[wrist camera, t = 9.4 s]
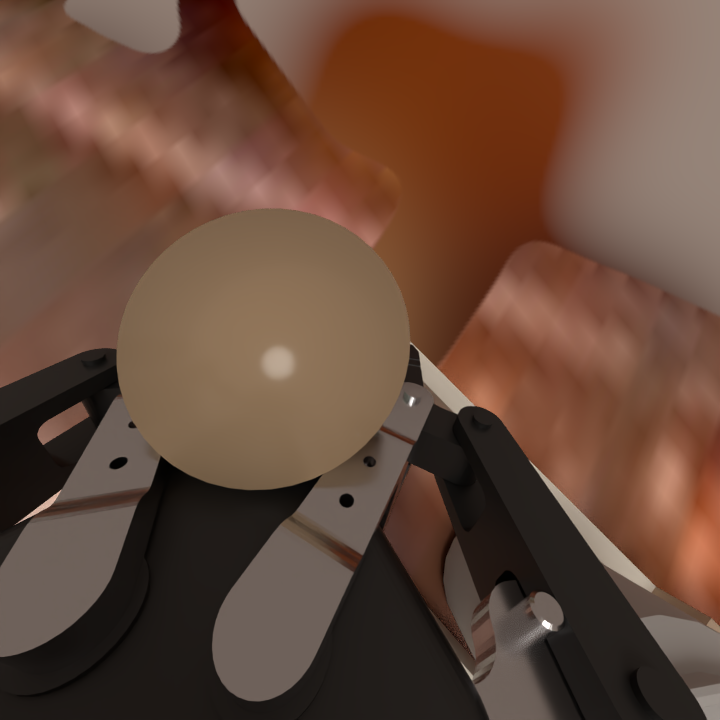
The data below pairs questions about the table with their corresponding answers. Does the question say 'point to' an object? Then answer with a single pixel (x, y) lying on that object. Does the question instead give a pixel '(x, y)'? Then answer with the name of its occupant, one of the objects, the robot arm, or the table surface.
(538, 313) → the table surface
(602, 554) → the white rectangular frame
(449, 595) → the can
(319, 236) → the pale green capped jar
